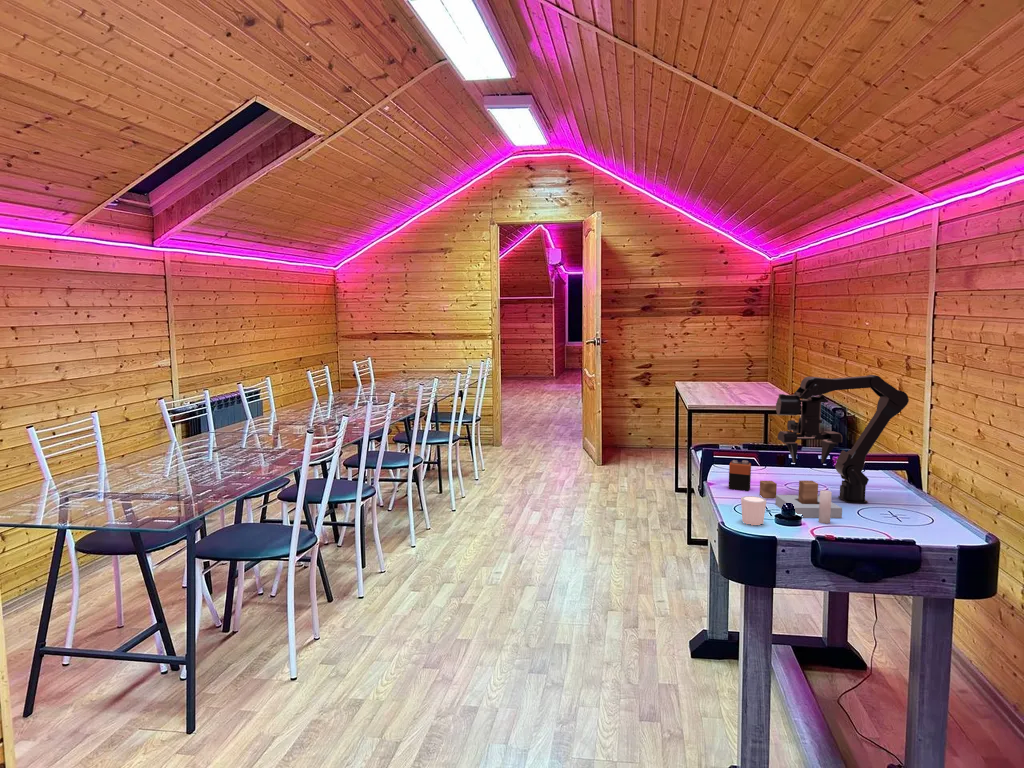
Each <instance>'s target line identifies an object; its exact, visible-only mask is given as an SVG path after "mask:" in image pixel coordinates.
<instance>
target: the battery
mask: <svg viewBox="0 0 1024 768" xmlns="http://www.w3.org/2000/svg"><path fill="white" fill-rule="evenodd" d="M728 465H729V466H728V467H729V469H728V489H729V490H734V489H735V490H736V491H743V490H745V492H749V491H750V489H751V479H752V478H751V477H752V475H751V473H752V463H751V462H749V461H748V460H742V461H738V460H737V459H736V460H735V459H733V460H731V461H730V463H729V464H728Z"/></svg>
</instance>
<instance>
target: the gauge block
mask: <svg viewBox="0 0 1024 768" xmlns="http://www.w3.org/2000/svg"><path fill="white" fill-rule="evenodd" d="M832 494H833V492H832V491H831V490H826V489H824V490H823V489H822V490H821V489H820V490H819V494H818V500H817V504H801V503H800V502H798V497H799V494H793V495H792V494H788V495H787V494H776V499H775V505H776V506H777V507H779V508H780V509H781V508H782V506H783V504H785V503H792V504H793V506H794V509H795V512H796V513H797V514H802V515H803V517H804V519H806V518H807V519H809V518H810V519H814V518H815V519H818V523H821V524H824V523H825V524H827V525H828V523H829V524H830V523H831V519H842V517H843V507H841V506H839V505H837V504H836V503H834V502H833V501H832Z"/></svg>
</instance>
